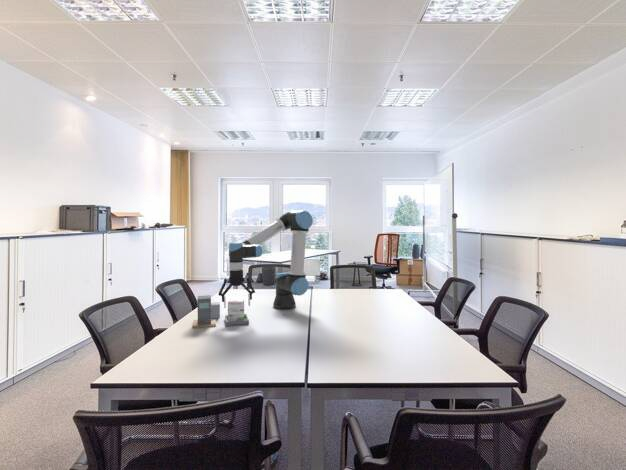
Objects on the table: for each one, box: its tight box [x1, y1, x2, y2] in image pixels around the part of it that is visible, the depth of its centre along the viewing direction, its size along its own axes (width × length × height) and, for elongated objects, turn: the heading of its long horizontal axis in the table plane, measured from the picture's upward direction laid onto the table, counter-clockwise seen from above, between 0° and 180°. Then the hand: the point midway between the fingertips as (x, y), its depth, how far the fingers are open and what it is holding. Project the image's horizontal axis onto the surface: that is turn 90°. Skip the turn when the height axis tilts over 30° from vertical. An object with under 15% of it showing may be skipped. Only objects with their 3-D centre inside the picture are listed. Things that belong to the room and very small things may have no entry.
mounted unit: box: [192, 295, 217, 329], centre depth 190 cm, size 12×12×15 cm
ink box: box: [227, 299, 245, 321], centre depth 194 cm, size 9×5×12 cm, turn 87°
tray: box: [224, 313, 250, 327], centre depth 194 cm, size 12×13×2 cm
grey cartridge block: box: [211, 301, 221, 319], centre depth 205 cm, size 5×6×8 cm
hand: (237, 306), depth 194 cm, fingers open, 13 cm apart
